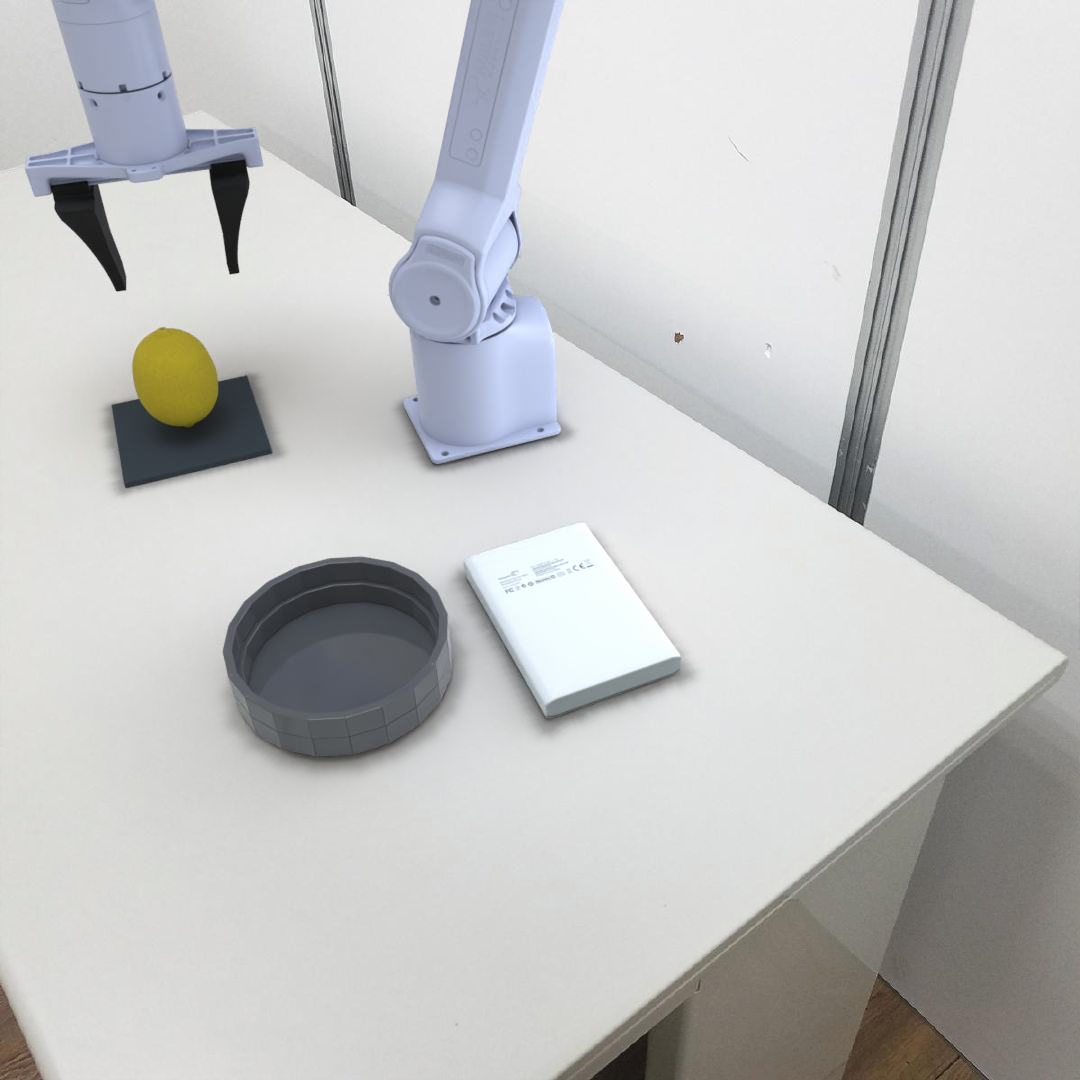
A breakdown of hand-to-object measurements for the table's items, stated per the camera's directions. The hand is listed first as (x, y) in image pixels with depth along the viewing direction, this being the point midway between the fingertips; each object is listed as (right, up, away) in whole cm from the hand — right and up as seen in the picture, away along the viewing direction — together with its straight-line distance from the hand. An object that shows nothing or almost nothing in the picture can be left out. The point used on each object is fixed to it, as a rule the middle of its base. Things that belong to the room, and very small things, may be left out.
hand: (177, 275), depth 78 cm
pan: (+14, -26, -15) cm, 33 cm away
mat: (0, -11, +2) cm, 11 cm away
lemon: (0, -10, +2) cm, 11 cm away
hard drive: (+27, -23, -13) cm, 38 cm away
